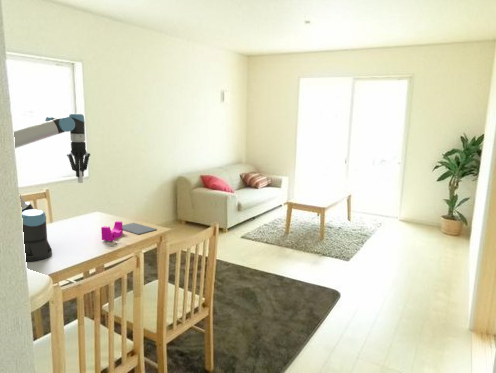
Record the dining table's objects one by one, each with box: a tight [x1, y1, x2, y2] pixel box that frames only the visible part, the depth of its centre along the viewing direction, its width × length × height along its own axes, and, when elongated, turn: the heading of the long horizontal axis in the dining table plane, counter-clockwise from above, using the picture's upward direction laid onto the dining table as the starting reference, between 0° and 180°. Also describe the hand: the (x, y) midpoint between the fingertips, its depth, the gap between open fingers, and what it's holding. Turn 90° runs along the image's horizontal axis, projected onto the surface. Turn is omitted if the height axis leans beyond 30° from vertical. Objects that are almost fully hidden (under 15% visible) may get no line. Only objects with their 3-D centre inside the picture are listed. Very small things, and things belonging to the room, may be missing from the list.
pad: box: [122, 222, 158, 235], centre depth 234 cm, size 14×24×1 cm, turn 53°
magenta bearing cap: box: [101, 220, 124, 242], centre depth 217 cm, size 15×6×8 cm, turn 165°
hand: (80, 182), depth 210 cm, fingers closed
